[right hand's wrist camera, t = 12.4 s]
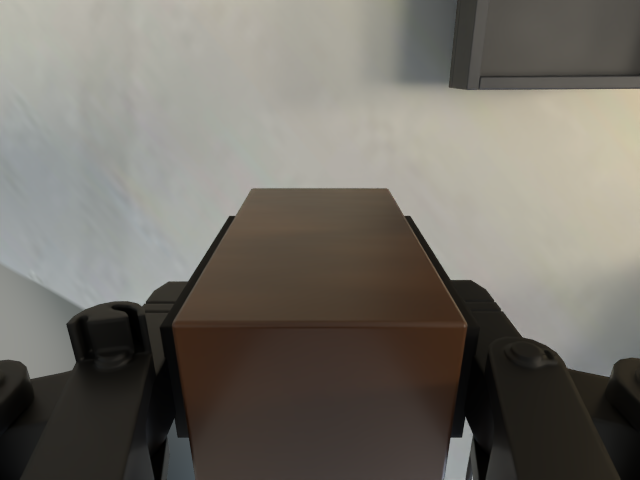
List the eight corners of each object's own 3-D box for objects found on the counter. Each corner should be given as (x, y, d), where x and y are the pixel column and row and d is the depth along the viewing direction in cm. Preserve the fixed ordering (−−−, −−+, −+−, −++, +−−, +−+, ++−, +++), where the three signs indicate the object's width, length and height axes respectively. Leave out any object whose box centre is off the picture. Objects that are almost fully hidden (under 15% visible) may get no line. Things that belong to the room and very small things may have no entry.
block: (388, 187, 14) (469, 323, 6) (381, 307, 15) (438, 527, 8) (251, 187, 14) (168, 323, 6) (258, 307, 15) (200, 527, 8)
